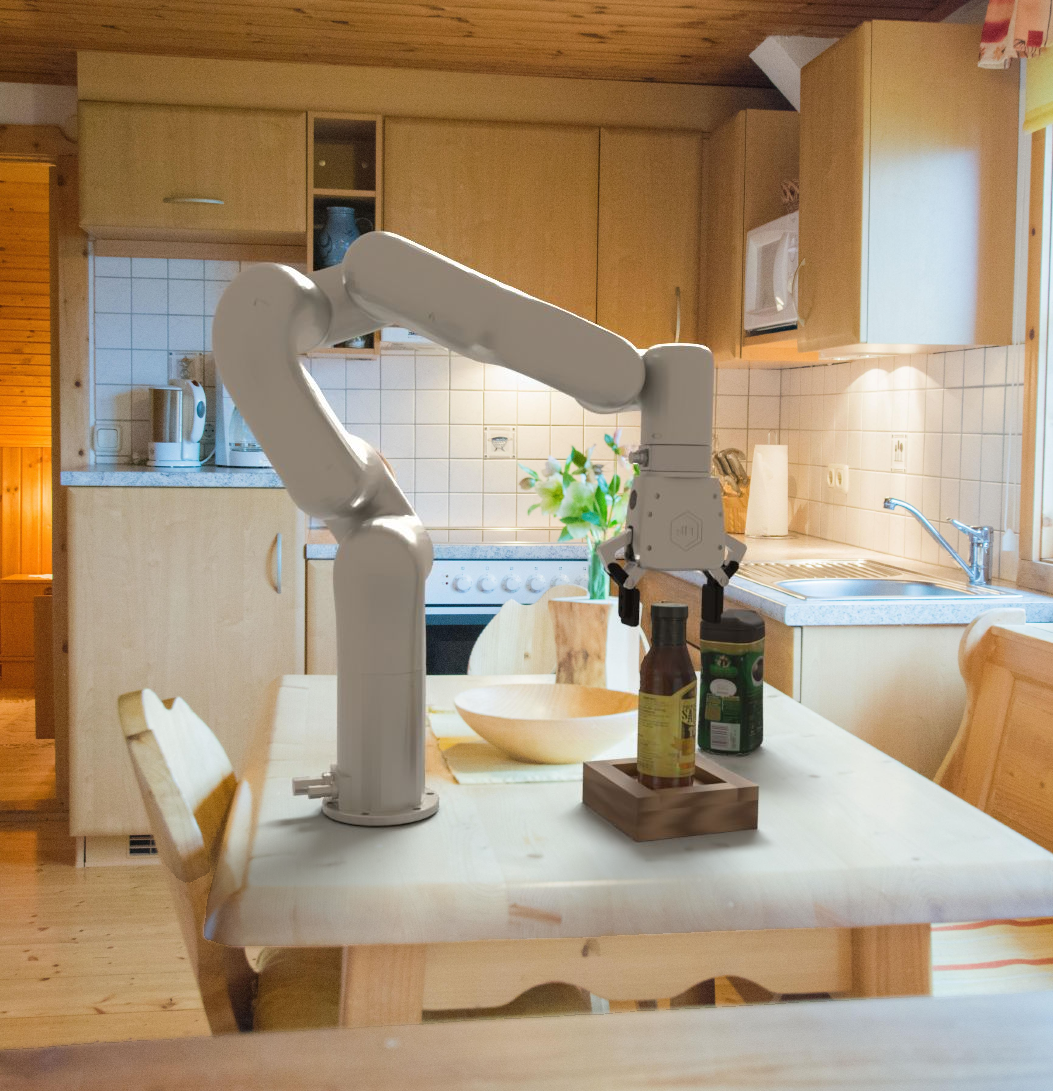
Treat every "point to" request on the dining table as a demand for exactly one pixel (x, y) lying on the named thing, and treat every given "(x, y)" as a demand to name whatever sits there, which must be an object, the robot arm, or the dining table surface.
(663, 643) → the sauce bottle
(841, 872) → the dining table surface
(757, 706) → the coffee jar
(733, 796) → the walnut block
